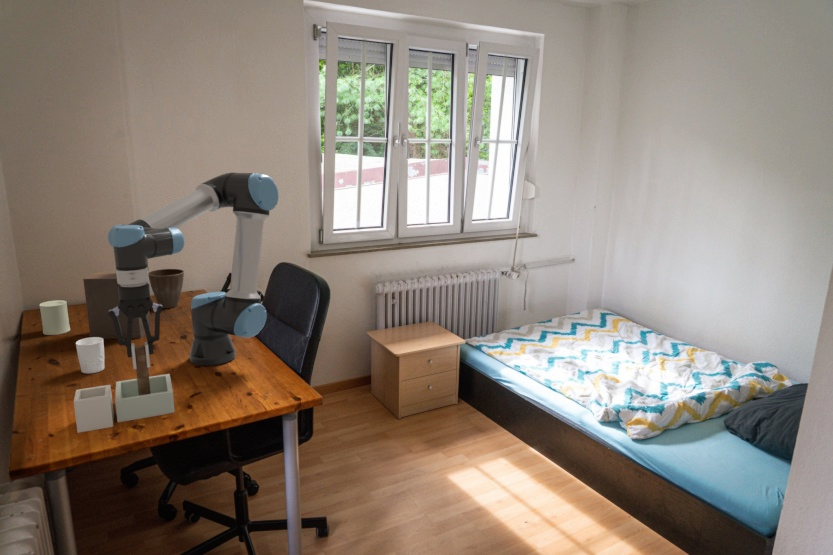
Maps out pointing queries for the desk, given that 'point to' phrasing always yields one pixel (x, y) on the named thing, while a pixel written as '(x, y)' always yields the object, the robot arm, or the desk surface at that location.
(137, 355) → the dowel
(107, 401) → the pen pot
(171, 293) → the plant pot
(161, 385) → the bin
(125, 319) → the two-tier brown block
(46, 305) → the can
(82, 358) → the white cup
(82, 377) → the desk surface
